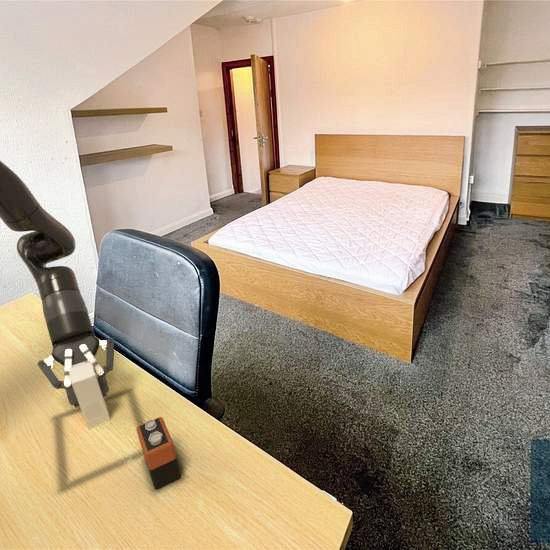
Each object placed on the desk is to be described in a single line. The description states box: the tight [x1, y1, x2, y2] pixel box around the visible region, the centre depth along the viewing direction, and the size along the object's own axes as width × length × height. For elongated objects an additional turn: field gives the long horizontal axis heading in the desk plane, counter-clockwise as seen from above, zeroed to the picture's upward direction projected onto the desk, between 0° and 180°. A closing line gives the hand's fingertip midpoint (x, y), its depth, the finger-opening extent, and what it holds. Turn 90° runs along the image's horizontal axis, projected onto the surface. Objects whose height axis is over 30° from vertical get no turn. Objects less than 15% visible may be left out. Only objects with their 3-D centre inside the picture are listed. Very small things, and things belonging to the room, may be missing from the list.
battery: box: [136, 416, 182, 491], centre depth 66 cm, size 4×7×10 cm, turn 29°
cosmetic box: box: [69, 360, 111, 430], centre depth 78 cm, size 6×4×12 cm
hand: (91, 400), depth 76 cm, fingers closed on cosmetic box, 4 cm apart
